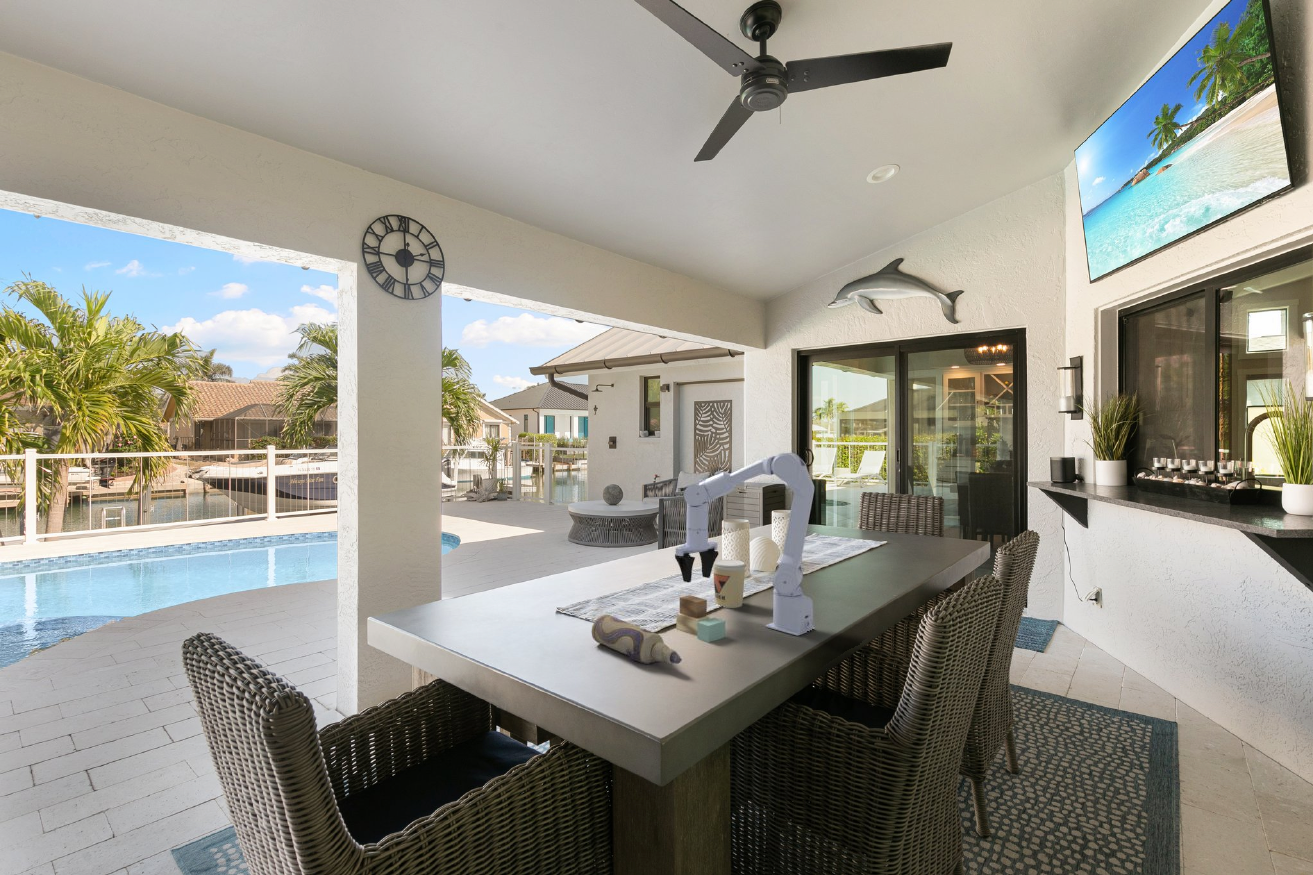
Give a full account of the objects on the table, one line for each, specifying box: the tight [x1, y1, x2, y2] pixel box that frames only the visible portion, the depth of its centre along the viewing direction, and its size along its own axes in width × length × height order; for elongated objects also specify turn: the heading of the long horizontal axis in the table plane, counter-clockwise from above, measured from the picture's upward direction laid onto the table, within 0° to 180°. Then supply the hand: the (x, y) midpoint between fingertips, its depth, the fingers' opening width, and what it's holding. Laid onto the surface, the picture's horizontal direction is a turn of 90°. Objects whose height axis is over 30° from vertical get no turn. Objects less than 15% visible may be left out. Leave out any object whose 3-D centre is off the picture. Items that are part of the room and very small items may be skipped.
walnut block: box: [679, 594, 708, 619], centre depth 148 cm, size 6×4×4 cm, turn 42°
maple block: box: [675, 612, 711, 636], centre depth 148 cm, size 7×4×4 cm, turn 46°
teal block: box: [696, 617, 726, 643], centre depth 143 cm, size 6×4×4 cm, turn 132°
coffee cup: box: [712, 559, 747, 609], centre depth 172 cm, size 9×9×12 cm
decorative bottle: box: [591, 614, 683, 665], centre depth 129 cm, size 26×8×7 cm, turn 41°
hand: (696, 579), depth 160 cm, fingers open, 7 cm apart
